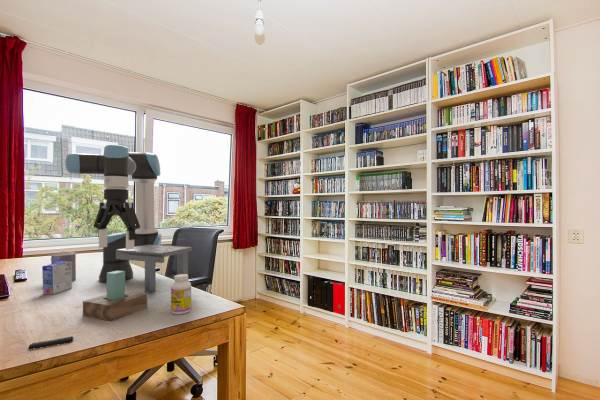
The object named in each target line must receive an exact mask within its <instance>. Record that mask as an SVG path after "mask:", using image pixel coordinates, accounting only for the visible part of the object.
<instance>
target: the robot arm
mask: <svg viewBox="0 0 600 400" xmlns="http://www.w3.org/2000/svg"><path fill="white" fill-rule="evenodd" d="M103 148H104V149H103V153H102V154H94V153H69V154H67V156H66V158H65V169H66V170H67V172H68V173H69V174H76V175H103V187H104V188H105V189H104V190H103V199H104V200H105V201H103V202H99V209H98V211H97V215H96V217H95V220H94V222H93V223H94V224H93V228H96V229H97V231H98V232H97V234H98V236H97V237H98V238H97V239H98V248H99V249H102V267H101V269H100V273H99V275H98V281H99V282H101V283H107V273H108V272H113V271H125V281H127V280H130V279H133V278H134V271H133V267H132V266H131V262H130V260H123V259H116V250H118V249H124V248H126V250H129V249H134V247H137V246H144V245H161V244H162V234H161V233H159V229H157V228H156V226H155V225H156V223H155V222H156V218H155V216H156V215H155V182H156V181H157V179H158V177H160V176H161V165H160V161H159V160H160V159H159V157H158V156H157V155H158V154H156V153H153V152H140V151H139V152H137V151H136V152H135V151H133V152H132V151H129V148H128V146H125V145H122V144H121V145H120V144H107V145H106V144H105V146H104V147H103ZM129 176H131V179H132V181H133V182H134V184H135V186H134V187H135V209H134V202H132V201H131V202H130V201H127V200H128V199H129V190H128V189H129V186H130V185H129ZM114 216H119V217H120V219H121V220H122V223H123V224H124V226H125V227H126V230H125V231H124V232H118V233H112V234H111V233H110V234H108V227H107V226H108V225H109V223H110V222H111V220H112V218H113V217H114Z"/></svg>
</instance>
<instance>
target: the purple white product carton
mask: <svg viewBox="0 0 600 400" xmlns="http://www.w3.org/2000/svg"><path fill="white" fill-rule="evenodd" d="M76 254H77V253H76V252H74V251H68V252H67V251H66V252H65V251H63V252H57V253H52V254H51V255H50V256H51V257H50V262H51V263H50V264H53V263H52V261H51V259H53V258H59V260H60V262H62V261H65V262H72V282H74V281H76V279H77V278H76V277H77V270H76V268H77V267H76V266H77V263H76V257H77V255H76ZM53 261H58V260H56V259H55V260H53Z"/></svg>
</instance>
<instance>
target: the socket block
mask: <svg viewBox="0 0 600 400" xmlns="http://www.w3.org/2000/svg"><path fill="white" fill-rule="evenodd" d="M147 308H148V293H145V292H144V293H143V292H136V291H135V292H134V291H130V290H129V291H128V290H125V298H121V299H118V300H115V301H112V300H107V293H105V294H102V295H99V296H95V297H92V298H88V299H84V300H82V316H83V317H89V318H93V319H99V320H104V321H109V322H113V321H116V320H118V319H121V318H123V317H126V316H129V315H132V314H134V313H136V312H139V311H142V310H144V309H147Z"/></svg>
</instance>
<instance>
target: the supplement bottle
mask: <svg viewBox="0 0 600 400" xmlns="http://www.w3.org/2000/svg"><path fill="white" fill-rule="evenodd" d="M173 280H174V282H173V283H172V284H171V286H170V312H171V314H173V315H179V316H180V315H185V314H187V313H189V312H190V311H191V310H192V283H191V282H190V281H189V274H188V275H187V274H179V275H177V274H176V275H173Z"/></svg>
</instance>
